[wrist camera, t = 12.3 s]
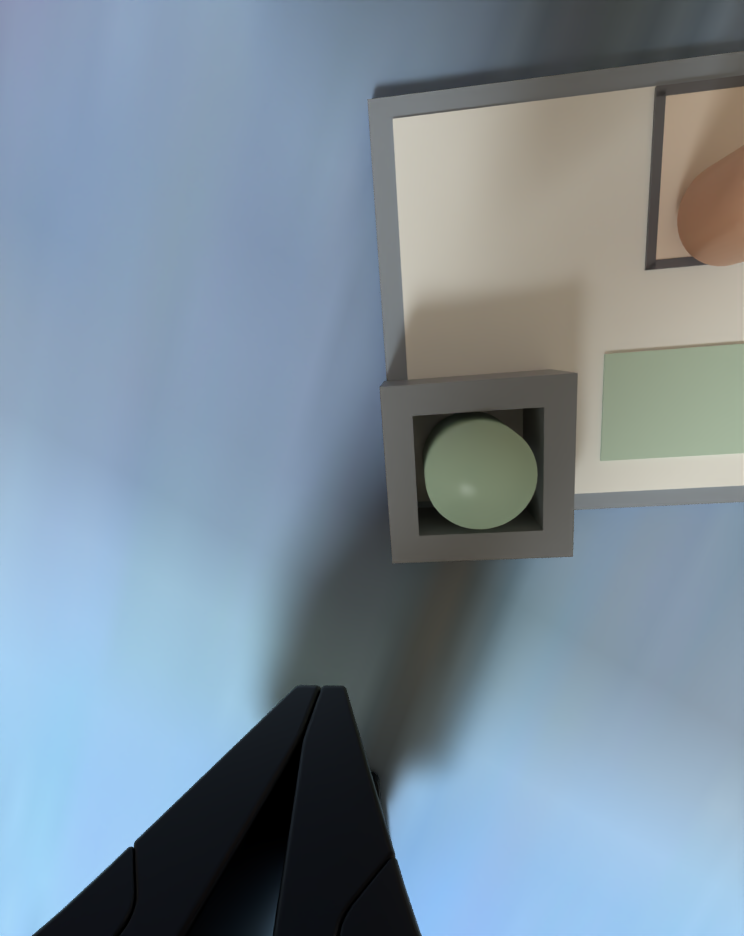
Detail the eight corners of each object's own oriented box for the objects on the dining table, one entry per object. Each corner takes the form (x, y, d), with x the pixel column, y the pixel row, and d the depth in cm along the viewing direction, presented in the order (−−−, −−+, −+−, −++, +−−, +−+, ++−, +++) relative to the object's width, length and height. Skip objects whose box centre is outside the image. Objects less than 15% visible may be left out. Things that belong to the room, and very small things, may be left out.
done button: (516, 499, 18) (537, 526, 16) (424, 503, 19) (427, 531, 16) (516, 407, 18) (538, 418, 15) (420, 413, 18) (422, 426, 15)
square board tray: (799, 508, 19) (888, 544, 15) (395, 526, 20) (392, 563, 17) (867, 44, 15) (1005, -47, 12) (366, 108, 16) (354, 44, 13)
